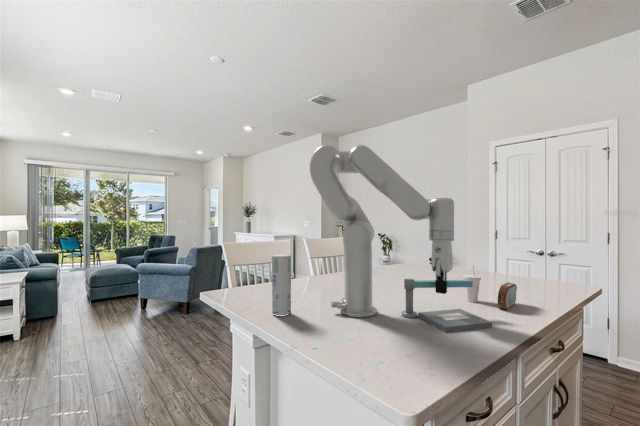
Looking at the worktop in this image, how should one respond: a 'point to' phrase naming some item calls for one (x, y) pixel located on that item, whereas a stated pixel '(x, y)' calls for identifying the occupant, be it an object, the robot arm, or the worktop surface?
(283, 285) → the spray can
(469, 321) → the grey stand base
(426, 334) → the worktop surface
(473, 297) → the smoothie
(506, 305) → the tin
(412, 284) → the swing bar
